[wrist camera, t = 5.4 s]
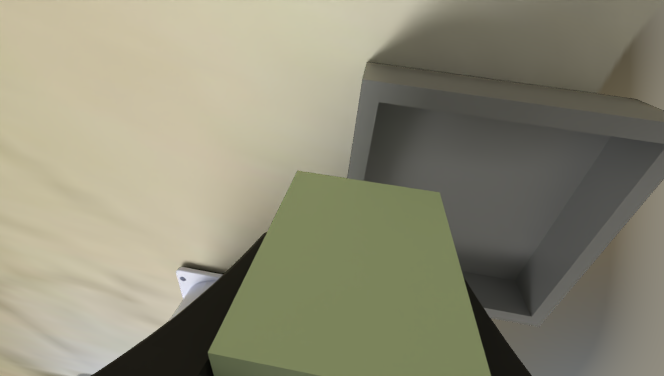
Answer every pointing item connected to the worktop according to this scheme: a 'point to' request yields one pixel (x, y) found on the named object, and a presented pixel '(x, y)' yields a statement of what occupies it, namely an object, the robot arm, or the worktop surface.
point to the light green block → (352, 289)
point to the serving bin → (511, 173)
